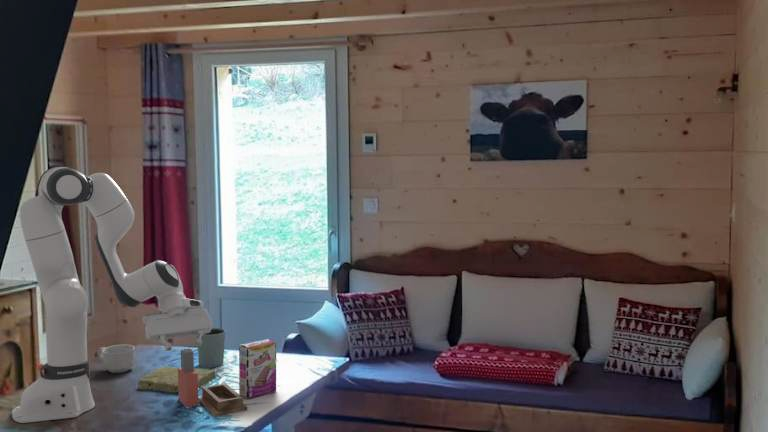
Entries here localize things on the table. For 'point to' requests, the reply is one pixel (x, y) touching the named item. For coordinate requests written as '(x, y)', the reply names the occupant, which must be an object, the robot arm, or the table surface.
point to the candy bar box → (257, 368)
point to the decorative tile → (171, 379)
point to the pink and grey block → (187, 379)
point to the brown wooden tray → (221, 400)
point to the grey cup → (212, 348)
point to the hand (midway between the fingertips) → (184, 347)
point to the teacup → (118, 357)
